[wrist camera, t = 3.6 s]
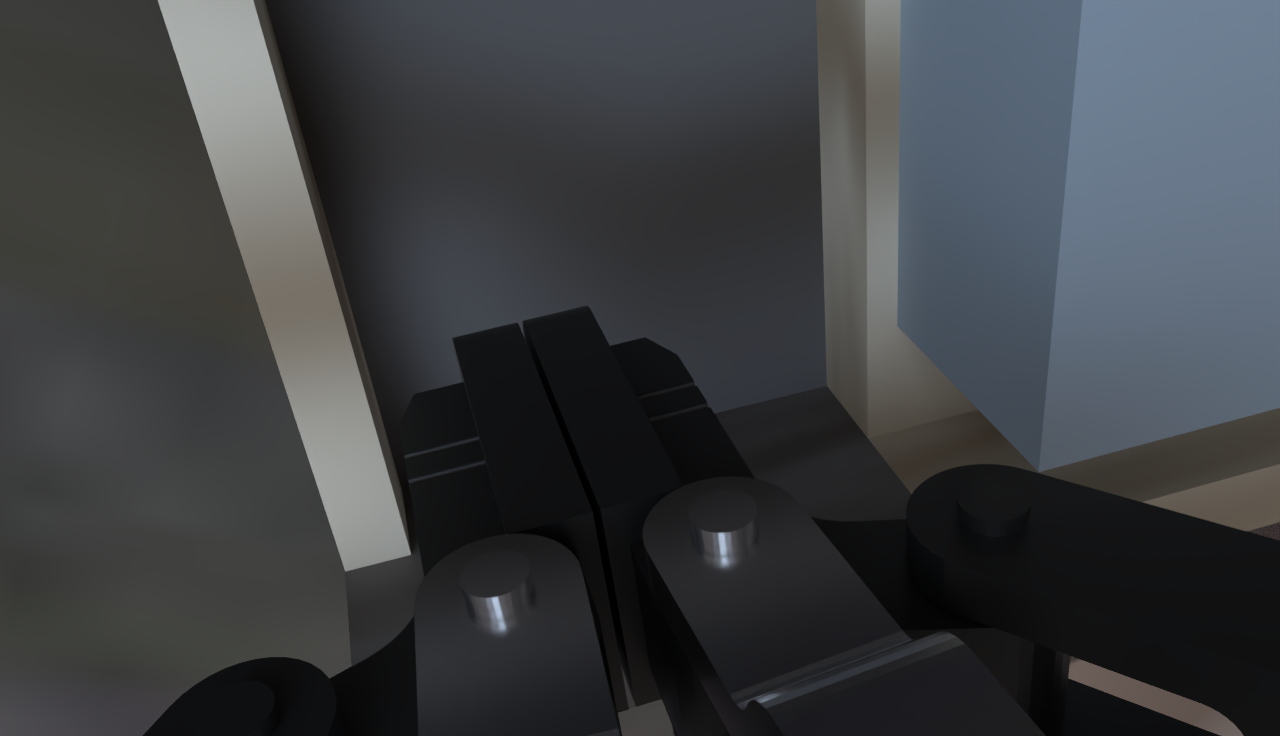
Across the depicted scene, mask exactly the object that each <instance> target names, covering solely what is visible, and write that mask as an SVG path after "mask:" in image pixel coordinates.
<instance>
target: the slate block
mask: <svg viewBox="0 0 1280 736" xmlns="http://www.w3.org/2000/svg"><path fill="white" fill-rule="evenodd" d="M897 326H898V327H899V328H900V329H901V330H902V331H903V332H904V333H905V334H906V335H907V336H908V337H909V338H910V340H911V341H912V342H913V343H914V344H915V345H916V346H917V347H918V348H919V349H920V350H921V351H922V352H923V353H924V354H925V355H926V356H927V357H928V358H929V359H930V360H931V361H932V362H933V363H934V364H935V365H936V366H937V367H938V368H939V370H940V371H941V372H942V373H943V374H944V375H945V376H946V377H947V378H948V379H949V380H950V381H951V382H952V383H953V384H954V385H955V386H956V387H957V388H958V389H959V390H960V391H961V392H962V393H963V394H964V395H965V396H966V397H967V398H968V400H969V401H970V402H971V403H972V404H973V405H974V406H975V407H976V408H977V409H978V410H979V411H980V412H981V413H982V414H983V415H984V416H985V417H986V418H987V419H988V420H989V421H990V422H991V423H992V424H993V425H994V426H995V427H996V429H997V430H998V431H999V432H1000V433H1001V434H1002V435H1003V436H1004V437H1005V438H1006V439H1007V440H1008V441H1009V442H1010V443H1011V444H1012V445H1013V446H1014V447H1015V448H1016V449H1017V450H1018V451H1019V452H1020V453H1021V454H1022V455H1023V456H1024V457H1025V459H1026V460H1027V461H1028V462H1029V463H1030V464H1031V465H1032V466H1033V467H1034V468H1035V469H1036V470H1037V471H1038V472H1041V471H1045V470H1049V469H1052V468H1056V467H1060V466H1064V465H1067V464H1071V463H1075V462H1079V461H1082V460H1086V459H1090V458H1094V457H1097V456H1101V455H1105V454H1108V453H1112V452H1116V451H1120V450H1123V449H1127V448H1131V447H1135V446H1138V445H1142V444H1146V443H1150V442H1153V441H1157V440H1161V439H1165V438H1168V437H1172V436H1176V435H1180V434H1183V433H1187V432H1191V431H1195V430H1198V429H1202V428H1206V427H1210V426H1213V425H1217V424H1221V423H1224V422H1228V421H1232V420H1236V419H1239V418H1243V417H1247V416H1251V415H1254V414H1258V413H1262V412H1266V411H1269V410H1273V409H1277V408H1280V0H901V10H900V109H899V207H898V306H897Z"/></svg>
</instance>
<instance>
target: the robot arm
mask: <svg viewBox="0 0 1280 736" xmlns="http://www.w3.org/2000/svg"><path fill="white" fill-rule="evenodd" d="M523 332H524V336H523V333H522V331H521V328H520V326H519V324H518V323H512V324H508V325H504V326H500V327H496V328H491V329H487V330H483V331H479V332H475V333H470V334H466V335H462V336H458V337H454V338H452V340H453V345H454V349H455V354H456V358H457V362H458V366H459V371H460V375H461V379H462V382H461V383H457V384H453V385H449V386H445V387H441V388H437V389H433V390H428V391H424V392H420V393H416V394H414V395H413V397H412V399H411V401H410V403H409V405H408V407H407V409H406V411H405V413H404V415H403V417H402V419H401V421H400V423H399V430H400V436H401V442H402V448H403V454H404V458H405V466H406V472H407V478H408V482H409V489H410V495H411V501H412V507H413V513H414V519H415V525H416V531H417V537H418V543H419V549H420V555H421V561H422V567H423V573H424V579H423V581H422V582H421V584H420V586H419V587H418V590H417V593H416V596H415V603H414V616H413V618H412V619H411V620H410V622H409V623H408V624H407V625H406V627H405V628H404V629H403V630H402V631H401V632H400V633H399V634H398V635H397V636H396V637H395V638H394V639H393V640H392V641H391V642H390V643H388V644H387V645H386V646H384V647H383V648H382V649H380V650H379V651H378V652H376V653H374V654H373V655H371V656H369V657H368V658H366V659H365V660H363V661H361V662H359V663H357V664H356V665H354V666H352V667H350V668H348V669H346V670H345V671H343V672H341V673H339V674H337V675H335V676H334V677H332V678H330V679H329V678H328V677H327V676H326V675H325V674H324V673H323V672H322V670H320V669H319V668H317V667H316V666H314V665H312V664H311V663H308V662H305V661H302V660H299V659H293V658H287V657H269V658H261V659H255V660H250V661H246V662H242V663H239V664H236V665H233V666H231V667H228V668H225V669H223V670H221V671H219V672H217V673H215V674H213V675H211V676H209V677H207V678H206V679H204V680H202V681H201V682H199V683H197V684H196V685H194V686H193V687H192V688H190V689H189V690H188V691H187V692H185V693H184V694H183V695H181V696H180V697H179V698H178V699H177V700H176V701H175V702H174V703H173V704H172V705H171V706H170V707H169V708H168V709H167V710H166V711H165V712H164V713H163V714H162V716H161V717H160V718H159V719H158V720H157V721H156V722H155V723H154V724H153V725H152V726H151V727H150V728H149V730H148V731H147V732H146V733H145V734H144V735H143V736H622V733H621V728H620V723H619V718H618V712H621V711H625V710H628V709H629V707H628V701H627V696H626V690H625V685H624V679H623V674H622V670H623V673H624V675H625V678H626V681H627V684H628V686H629V689H630V692H631V695H632V698H633V700H634V703H635V706H640V705H643V704H646V703H650V702H653V701H656V700H660V699H662V700H663V703H664V705H665V708H666V710H667V713H668V716H669V718H670V721H671V723H672V727H673V734H674V736H1220V735H1217V734H1214V733H1212V732H1209V731H1206V730H1204V729H1201V728H1198V727H1195V726H1193V725H1190V724H1188V723H1185V722H1182V721H1180V720H1177V719H1174V718H1172V717H1169V716H1166V715H1164V714H1161V713H1158V712H1155V711H1153V710H1151V709H1148V708H1145V707H1143V706H1140V705H1137V704H1135V703H1132V702H1129V701H1126V700H1124V699H1121V698H1119V697H1116V696H1113V695H1111V694H1108V693H1105V692H1103V691H1100V690H1097V689H1095V688H1092V687H1089V686H1087V685H1084V684H1081V683H1079V682H1076V681H1073V680H1071V679H1068V674H1069V664H1070V656H1073V657H1076V658H1078V659H1081V660H1084V661H1087V662H1089V663H1092V664H1095V665H1098V666H1101V667H1103V668H1106V669H1108V670H1111V671H1114V672H1117V673H1119V674H1122V675H1125V676H1128V677H1130V678H1133V679H1136V680H1139V681H1141V682H1144V683H1147V684H1150V685H1153V686H1155V687H1158V688H1161V689H1163V690H1166V691H1169V692H1171V693H1174V694H1177V695H1180V696H1182V697H1185V698H1188V699H1191V700H1193V701H1196V702H1199V703H1202V704H1204V705H1206V706H1209V707H1211V708H1213V709H1215V710H1216V711H1218V712H1220V713H1221V714H1223V715H1224V716H1225V717H1227V718H1228V719H1229V720H1230V721H1232V722H1233V723H1234V724H1235V725H1236V726H1237V728H1238V729H1239V730H1240V731H1241V732H1242V734H1243V735H1244V736H1280V541H1279V540H1275V539H1272V538H1268V537H1264V536H1261V535H1257V534H1254V533H1250V532H1247V531H1243V530H1239V529H1236V528H1232V527H1229V526H1225V525H1222V524H1218V523H1215V522H1211V521H1207V520H1204V519H1200V518H1197V517H1193V516H1190V515H1186V514H1182V513H1179V512H1175V511H1172V510H1168V509H1165V508H1161V507H1158V506H1154V505H1150V504H1147V503H1143V502H1140V501H1136V500H1133V499H1129V498H1125V497H1122V496H1118V495H1115V494H1111V493H1108V492H1104V491H1101V490H1097V489H1093V488H1090V487H1086V486H1083V485H1079V484H1076V483H1072V482H1068V481H1065V480H1061V479H1058V478H1054V477H1051V476H1047V475H1043V474H1040V473H1036V472H1033V471H1029V470H1026V469H1021V468H1017V467H1013V466H1006V465H998V464H975V465H965V466H960V467H955V468H951V469H948V470H945V471H942V472H940V473H937V474H935V475H933V476H931V477H930V478H928V479H927V480H925V481H924V482H922V483H921V484H920V485H919V486H918V487H917V488H916V489H915V490H914V491H913V493H912V495H911V496H910V498H909V500H908V504H907V507H906V519H895V520H872V521H834V520H824V519H819V518H814V517H810V516H809V514H808V513H807V512H806V511H805V509H804V508H803V507H802V506H801V505H800V503H799V502H798V501H797V500H796V499H795V498H794V497H793V496H792V495H791V494H789V493H788V492H787V491H785V490H784V489H782V488H780V487H778V486H776V485H774V484H772V483H769V482H765V481H762V480H759V479H755V478H754V476H753V474H752V473H751V471H750V470H749V468H748V466H747V465H746V463H745V462H744V460H743V458H742V457H741V455H740V454H739V452H738V450H737V449H736V447H735V446H734V444H733V442H732V441H731V439H730V438H729V436H728V434H727V433H726V431H725V430H724V428H723V426H722V425H721V423H720V422H719V420H718V418H717V417H716V415H715V414H714V412H713V410H712V409H711V407H708V404H707V401H706V399H705V398H704V396H703V394H702V393H701V391H700V390H699V388H698V386H695V384H694V380H693V378H692V377H691V375H690V374H689V372H688V370H687V369H686V367H685V366H684V364H683V362H682V361H681V359H680V358H679V356H678V355H677V354H675V353H673V352H672V351H670V350H668V349H666V348H664V347H662V346H661V345H659V344H657V343H655V342H653V341H652V340H650V339H648V338H646V337H644V338H640V339H636V340H632V341H628V342H624V343H619V344H615V345H611V346H610V345H609V343H608V341H607V339H606V338H605V336H604V334H603V332H602V330H601V328H600V326H599V324H598V322H597V320H596V319H595V317H594V315H593V313H592V311H591V309H590V308H589V306H583V307H579V308H574V309H570V310H566V311H562V312H558V313H553V314H549V315H545V316H541V317H537V318H532V319H528V320H524V321H523ZM621 667H622V668H621Z"/></svg>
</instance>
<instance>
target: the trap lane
mask: <svg viewBox="0 0 1280 736" xmlns="http://www.w3.org/2000/svg"><path fill="white" fill-rule="evenodd" d="M158 2H159V5H160V8H161V11H162V14H163V17H164V20H165V23H166V26H167V29H168V32H169V35H170V39H171V42H172V45H173V48H174V51H175V54H176V57H177V60H178V63H179V66H180V69H181V72H182V75H183V78H184V81H185V84H186V87H187V90H188V93H189V96H190V99H191V102H192V106H193V109H194V112H195V115H196V118H197V121H198V124H199V127H200V130H201V133H202V136H203V139H204V142H205V145H206V148H207V151H208V154H209V157H210V160H211V163H212V166H213V169H214V173H215V176H216V179H217V182H218V185H219V188H220V191H221V194H222V197H223V200H224V203H225V206H226V209H227V212H228V215H229V218H230V221H231V224H232V227H233V230H234V233H235V236H236V240H237V243H238V246H239V249H240V252H241V255H242V258H243V261H244V264H245V267H246V270H247V273H248V276H249V279H250V282H251V285H252V288H253V291H254V294H255V297H256V300H257V303H258V307H259V310H260V313H261V316H262V319H263V322H264V325H265V328H266V331H267V334H268V337H269V340H270V343H271V346H272V349H273V352H274V355H275V358H276V361H277V364H278V367H279V370H280V374H281V377H282V380H283V383H284V386H285V389H286V392H287V395H288V398H289V401H290V404H291V407H292V410H293V413H294V416H295V419H296V422H297V425H298V428H299V431H300V434H301V438H302V441H303V444H304V447H305V450H306V453H307V456H308V459H309V462H310V465H311V468H312V471H313V474H314V477H315V480H316V483H317V486H318V489H319V492H320V495H321V498H322V501H323V505H324V508H325V511H326V514H327V517H328V520H329V523H330V526H331V529H332V532H333V535H334V538H335V541H336V544H337V547H338V550H339V553H340V556H341V559H342V562H343V565H344V568H345V572H346V586H347V602H348V617H349V632H350V647H351V662H352V666H354V665H356V664H357V663H359V662H361V661H363V660H365V659H366V658H368V657H369V656H371V655H373V654H374V653H376V652H378V651H379V650H380V649H382V648H383V647H384V646H386V645H387V644H388V643H390V642H391V641H392V640H393V639H394V638H395V637H396V636H397V635H398V634H399V633H400V632H401V631H402V630H403V629H404V628H405V627H406V625H407V624H408V623H409V622H410V620H411V619H412V618H413V616H414V603H415V596H416V593H417V590H418V587H419V586H420V584H421V582H422V581H423V579H424V573H423V567H422V561H421V555H420V549H419V543H418V537H417V531H416V525H415V519H414V513H413V507H412V501H411V495H410V489H409V482H408V478H407V472H406V466H405V458H404V454H403V448H402V442H401V436H400V430H399V423H400V421H401V419H402V417H403V415H404V413H405V411H406V409H407V407H408V405H409V403H410V401H411V399H412V397H413V395H414V394H416V393H420V392H424V391H428V390H433V389H437V388H441V387H445V386H449V385H453V384H457V383H461V382H462V379H461V375H460V371H459V366H458V362H457V358H456V354H455V349H454V345H453V340H452V338H454V337H458V336H462V335H466V334H470V333H475V332H479V331H483V330H487V329H491V328H496V327H500V326H504V325H508V324H512V323H518V324H519V326H520V328H521V331H522V333H523V336H524V332H523V321H524V320H528V319H532V318H537V317H541V316H545V315H549V314H553V313H558V312H562V311H566V310H570V309H574V308H579V307H583V306H589V308H590V309H591V311H592V313H593V315H594V317H595V319H596V320H597V322H598V324H599V326H600V328H601V330H602V332H603V334H604V336H605V338H606V339H607V341H608V343H609V345H610V346H611V345H615V344H619V343H624V342H628V341H632V340H636V339H640V338H644V337H646V338H648V339H650V340H652V341H653V342H655V343H657V344H659V345H661V346H662V347H664V348H666V349H668V350H670V351H672V352H673V353H675V354H677V355H678V356H679V358H680V359H681V361H682V362H683V364H684V366H685V367H686V369H687V370H688V372H689V374H690V375H691V377H692V378H693V380H694V384H695V386H698V388H699V390H700V391H701V393H702V394H703V396H704V398H705V399H706V401H707V404H708V407H711V409H712V410H713V412H714V414H715V415H716V417H717V418H718V420H719V422H720V423H721V425H722V426H723V428H724V430H725V431H726V433H727V434H728V436H729V438H730V439H731V441H732V442H733V444H734V446H735V447H736V449H737V450H738V452H739V454H740V455H741V457H742V458H743V460H744V462H745V463H746V465H747V466H748V468H749V470H750V471H751V473H752V474H753V476H754V478H755V479H759V480H762V481H765V482H769V483H772V484H774V485H776V486H778V487H780V488H782V489H784V490H785V491H787V492H788V493H789V494H791V495H792V496H793V497H794V498H795V499H796V500H797V501H798V502H799V503H800V505H801V506H802V507H803V508H804V509H805V511H806V512H807V513H808V514H809V516H810V517H814V518H819V519H824V520H834V521H872V520H895V519H906V507H907V504H908V500H909V498H910V496H911V495H912V493H913V491H914V490H915V489H916V488H917V487H918V486H919V485H920V484H921V483H922V482H924V481H925V480H927V479H928V478H930V477H931V476H933V475H935V474H937V473H940V472H942V471H945V470H948V469H951V468H955V467H960V466H965V465H975V464H998V465H1006V466H1013V467H1017V468H1021V469H1026V470H1029V471H1033V472H1036V473H1040V474H1043V475H1047V476H1051V477H1054V478H1058V479H1061V480H1065V481H1068V482H1072V483H1076V484H1079V485H1083V486H1086V487H1090V488H1093V489H1097V490H1101V491H1104V492H1108V493H1111V494H1115V495H1118V496H1122V497H1125V498H1129V499H1133V500H1136V501H1140V502H1143V503H1147V504H1150V505H1154V506H1158V507H1161V508H1165V509H1168V510H1172V511H1175V512H1179V513H1182V514H1186V515H1190V516H1193V517H1197V518H1200V519H1204V520H1207V521H1211V522H1215V523H1218V524H1222V525H1225V526H1229V527H1232V528H1236V529H1239V530H1243V531H1250V530H1254V529H1257V528H1261V527H1264V526H1268V525H1271V524H1275V523H1278V522H1280V408H1277V409H1273V410H1269V411H1266V412H1262V413H1258V414H1254V415H1251V416H1247V417H1243V418H1239V419H1236V420H1232V421H1228V422H1224V423H1221V424H1217V425H1213V426H1210V427H1206V428H1202V429H1198V430H1195V431H1191V432H1187V433H1183V434H1180V435H1176V436H1172V437H1168V438H1165V439H1161V440H1157V441H1153V442H1150V443H1146V444H1142V445H1138V446H1135V447H1131V448H1127V449H1123V450H1120V451H1116V452H1112V453H1108V454H1105V455H1101V456H1097V457H1094V458H1090V459H1086V460H1082V461H1079V462H1075V463H1071V464H1067V465H1064V466H1060V467H1056V468H1052V469H1049V470H1045V471H1041V472H1038V471H1037V470H1036V469H1035V468H1034V467H1033V466H1032V465H1031V464H1030V463H1029V462H1028V461H1027V460H1026V459H1025V457H1024V456H1023V455H1022V454H1021V453H1020V452H1019V451H1018V450H1017V449H1016V448H1015V447H1014V446H1013V445H1012V444H1011V443H1010V442H1009V441H1008V440H1007V439H1006V438H1005V437H1004V436H1003V435H1002V434H1001V433H1000V432H999V431H998V430H997V429H996V427H995V426H994V425H993V424H992V423H991V422H990V421H989V420H988V419H987V418H986V417H985V416H984V415H983V414H982V413H981V412H980V411H979V410H978V409H977V408H976V407H975V406H974V405H973V404H972V403H971V402H970V401H969V400H968V398H967V397H966V396H965V395H964V394H963V393H962V392H961V391H960V390H959V389H958V388H957V387H956V386H955V385H954V384H953V383H952V382H951V381H950V380H949V379H948V378H947V377H946V376H945V375H944V374H943V373H942V372H941V371H940V370H939V368H938V367H937V366H936V365H935V364H934V363H933V362H932V361H931V360H930V359H929V358H928V357H927V356H926V355H925V354H924V353H923V352H922V351H921V350H920V349H919V348H918V347H917V346H916V345H915V344H914V343H913V342H912V341H911V340H910V338H909V337H908V336H907V335H906V334H905V333H904V332H903V331H902V330H901V329H900V328H899V327H898V326H897V306H898V207H899V109H900V10H901V0H158ZM621 668H622V667H621ZM622 674H623V679H624V685H625V690H626V696H627V701H628V707H629V708H631V707H634V706H635V703H634V700H633V698H632V695H631V692H630V689H629V686H628V684H627V681H626V678H625V675H624V673H623V670H622Z"/></svg>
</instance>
